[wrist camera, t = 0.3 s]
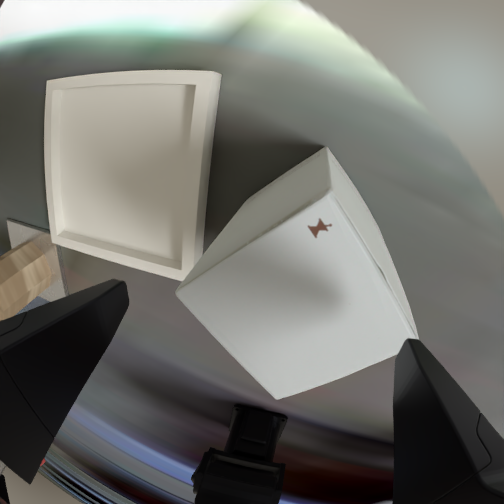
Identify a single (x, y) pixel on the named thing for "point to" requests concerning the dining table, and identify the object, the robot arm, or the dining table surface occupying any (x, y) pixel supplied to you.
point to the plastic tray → (131, 165)
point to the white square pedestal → (51, 251)
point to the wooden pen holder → (22, 278)
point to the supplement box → (301, 282)
